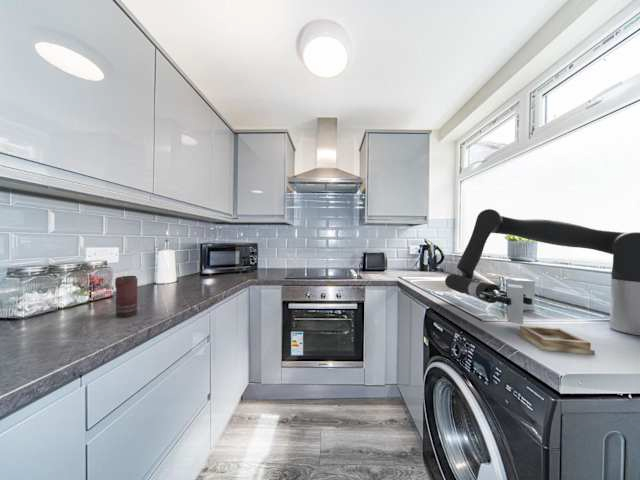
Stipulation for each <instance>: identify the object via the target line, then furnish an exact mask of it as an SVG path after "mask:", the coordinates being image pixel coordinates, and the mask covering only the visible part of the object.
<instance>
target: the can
mask: <svg viewBox="0 0 640 480" xmlns="http://www.w3.org/2000/svg"><path fill="white" fill-rule="evenodd" d="M114 284H115V285H114V287H115V316H116V318H119V319H120V318H121V319H123V318H130V317H134V316H136V315H137V313H138V277H137V276H136V275H123V276H117V277H116V278H115V281H114Z"/></svg>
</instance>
